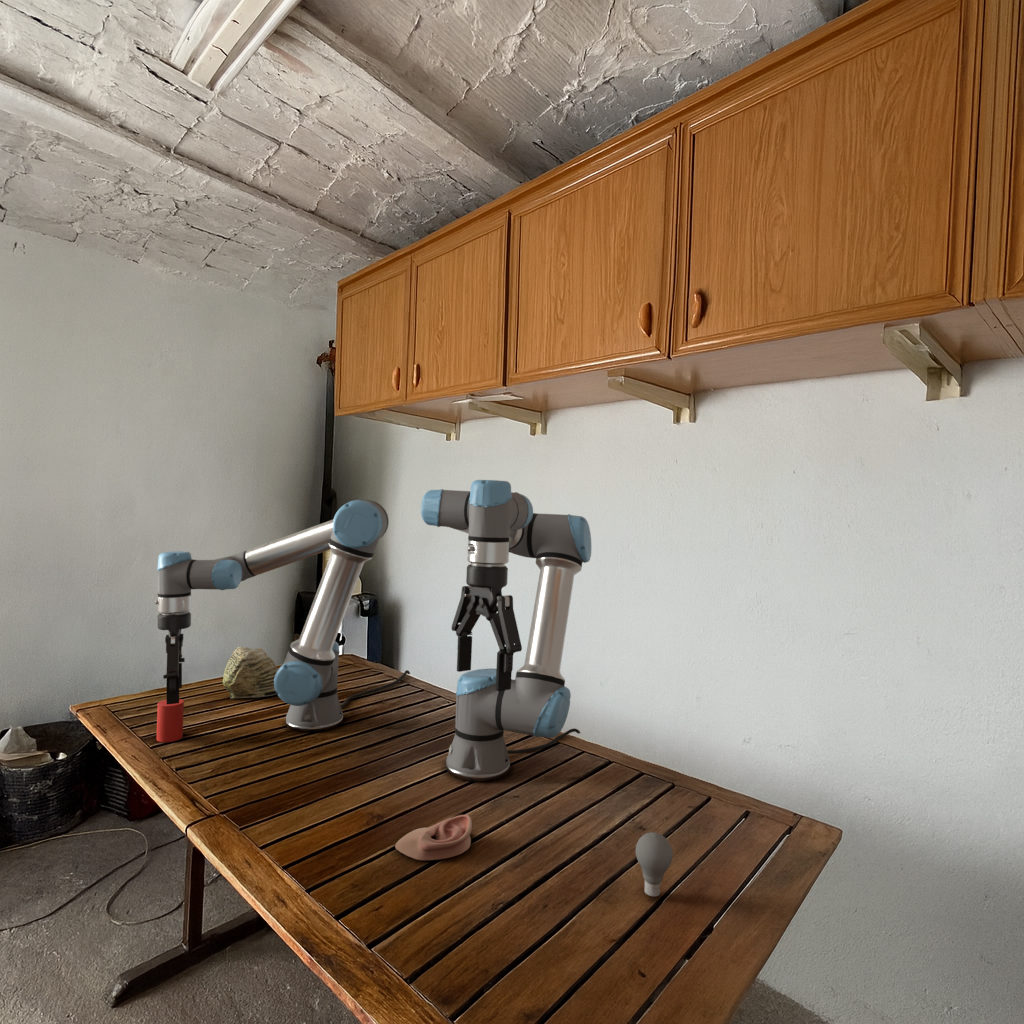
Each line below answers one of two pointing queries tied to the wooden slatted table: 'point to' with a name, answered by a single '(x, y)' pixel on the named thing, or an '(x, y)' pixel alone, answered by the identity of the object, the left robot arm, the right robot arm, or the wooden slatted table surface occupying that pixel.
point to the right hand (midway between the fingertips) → (482, 679)
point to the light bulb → (653, 860)
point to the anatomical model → (438, 839)
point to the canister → (170, 721)
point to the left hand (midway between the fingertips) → (174, 695)
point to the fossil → (250, 674)
